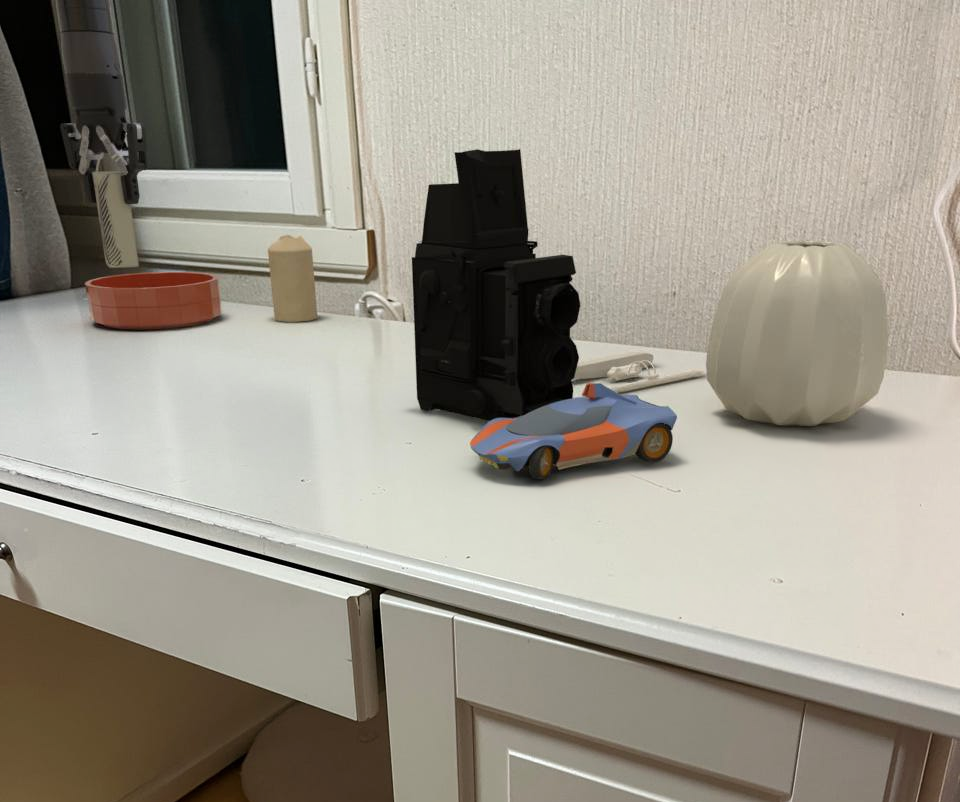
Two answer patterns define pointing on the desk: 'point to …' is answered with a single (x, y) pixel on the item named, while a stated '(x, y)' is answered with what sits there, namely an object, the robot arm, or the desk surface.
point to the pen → (610, 364)
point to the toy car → (578, 433)
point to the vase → (799, 335)
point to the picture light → (635, 370)
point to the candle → (292, 279)
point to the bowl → (154, 300)
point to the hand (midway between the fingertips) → (113, 202)
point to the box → (115, 220)
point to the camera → (489, 298)
